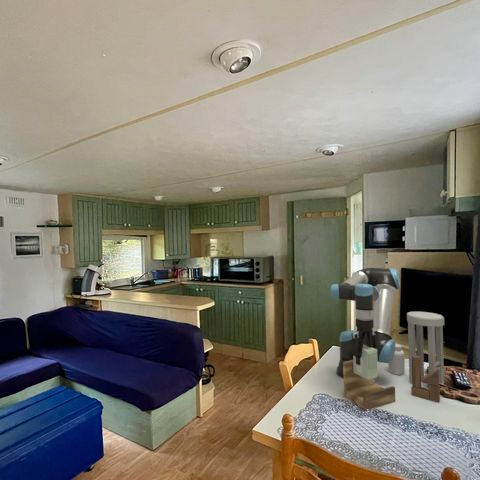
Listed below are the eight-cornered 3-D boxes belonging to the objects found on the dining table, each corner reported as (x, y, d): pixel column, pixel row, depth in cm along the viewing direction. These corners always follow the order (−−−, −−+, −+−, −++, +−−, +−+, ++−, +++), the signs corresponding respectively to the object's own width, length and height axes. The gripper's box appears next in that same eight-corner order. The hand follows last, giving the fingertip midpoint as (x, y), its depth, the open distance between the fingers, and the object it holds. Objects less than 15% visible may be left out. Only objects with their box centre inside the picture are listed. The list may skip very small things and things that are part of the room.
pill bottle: (398, 376, 154) (398, 348, 155) (385, 371, 161) (384, 344, 162) (408, 373, 158) (407, 346, 158) (394, 368, 165) (393, 341, 165)
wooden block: (439, 402, 128) (438, 361, 128) (411, 395, 135) (410, 356, 135) (440, 399, 131) (439, 359, 131) (412, 392, 137) (411, 354, 138)
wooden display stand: (343, 396, 133) (343, 361, 134) (372, 389, 141) (371, 355, 141) (365, 410, 122) (365, 372, 122) (395, 401, 129) (394, 365, 129)
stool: (403, 382, 147) (401, 313, 148) (416, 375, 156) (415, 310, 157) (437, 395, 134) (435, 319, 136) (450, 385, 143) (448, 315, 145)
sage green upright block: (353, 372, 132) (353, 345, 132) (363, 370, 134) (362, 344, 135) (368, 379, 124) (367, 351, 125) (378, 377, 127) (377, 349, 127)
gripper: (354, 322, 123) (355, 377, 122) (386, 318, 131) (387, 370, 130) (342, 318, 130) (342, 370, 129) (372, 314, 138) (373, 364, 137)
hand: (365, 370), depth 129 cm, fingers closed on sage green upright block, 6 cm apart
